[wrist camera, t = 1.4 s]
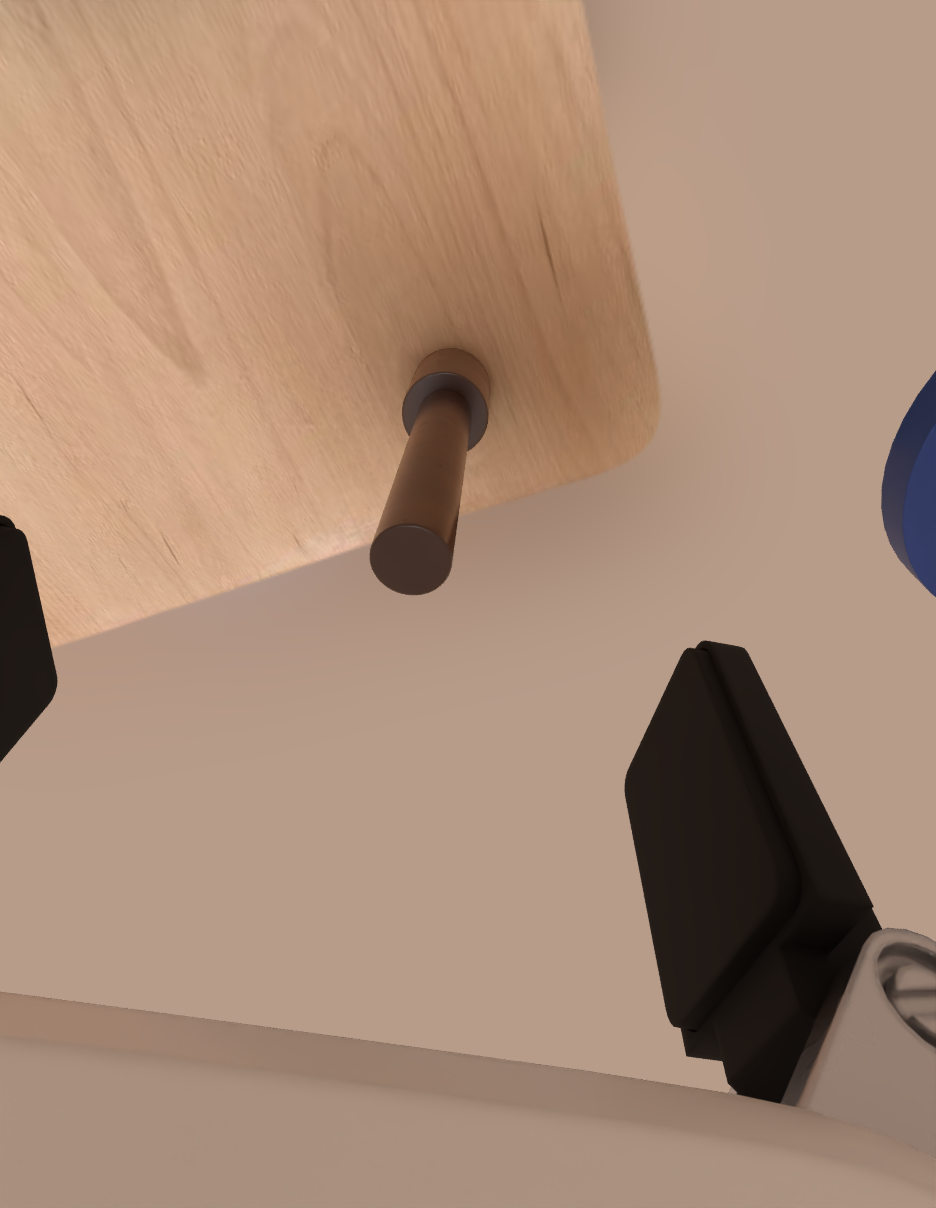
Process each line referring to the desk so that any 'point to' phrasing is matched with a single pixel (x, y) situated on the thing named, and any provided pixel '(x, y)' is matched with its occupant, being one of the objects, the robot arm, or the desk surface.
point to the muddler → (431, 472)
